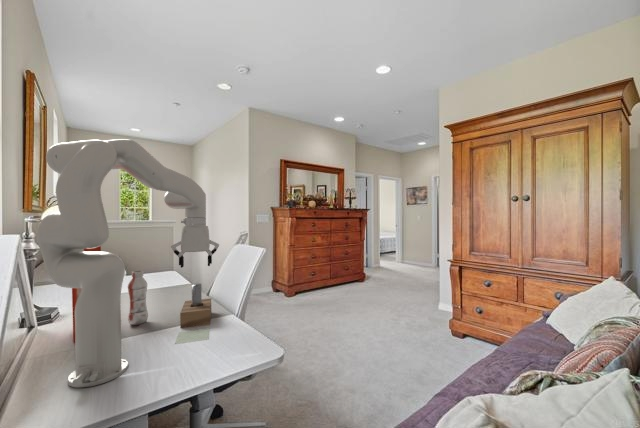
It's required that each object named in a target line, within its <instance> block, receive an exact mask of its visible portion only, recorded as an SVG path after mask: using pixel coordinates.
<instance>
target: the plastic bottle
mask: <svg viewBox="0 0 640 428" xmlns="http://www.w3.org/2000/svg"><path fill="white" fill-rule="evenodd" d="M147 291H148V282H147V280H145V278H144V270H135V271H134V270H133V271H131V280H130V281H129V283H128V284H127V292H128V296H129V311H128V318H127V320H128V324H130V325H131V326H139V325H142V324H145V323H146V322H147V321H148V319H149V312H148V309H147V306H148V305H147Z"/></svg>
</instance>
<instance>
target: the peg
mask: <svg viewBox="0 0 640 428" xmlns="http://www.w3.org/2000/svg"><path fill="white" fill-rule="evenodd" d="M202 295H203V294H202V283H192V284H191V300H192V307H197V306H202V299H203V298H202V297H203V296H202Z"/></svg>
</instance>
